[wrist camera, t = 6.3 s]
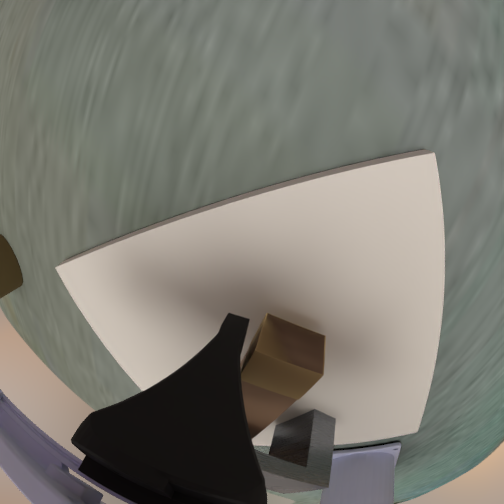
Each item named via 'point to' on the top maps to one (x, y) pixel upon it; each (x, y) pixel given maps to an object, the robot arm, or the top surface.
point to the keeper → (300, 454)
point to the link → (279, 369)
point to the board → (290, 287)
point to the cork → (8, 269)
